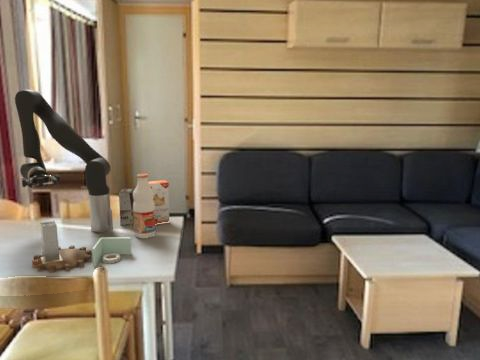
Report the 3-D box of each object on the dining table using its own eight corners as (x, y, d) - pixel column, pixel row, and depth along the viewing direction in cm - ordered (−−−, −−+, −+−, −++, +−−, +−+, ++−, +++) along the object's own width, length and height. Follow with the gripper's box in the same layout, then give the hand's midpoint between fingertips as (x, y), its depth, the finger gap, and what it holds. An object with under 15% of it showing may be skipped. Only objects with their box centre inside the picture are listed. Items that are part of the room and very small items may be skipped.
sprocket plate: (85, 246, 187) (85, 242, 187) (98, 264, 169) (97, 259, 169) (29, 256, 176) (28, 251, 176) (36, 277, 158) (35, 271, 158)
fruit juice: (139, 230, 207) (137, 171, 200) (159, 232, 205) (156, 172, 198) (130, 237, 198) (127, 176, 191) (150, 239, 196) (148, 177, 189)
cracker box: (142, 228, 211) (140, 185, 206) (138, 224, 216) (136, 182, 211) (170, 223, 217) (168, 181, 213) (165, 220, 222) (164, 179, 218)
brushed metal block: (57, 255, 174) (54, 221, 171) (59, 259, 170) (56, 224, 166) (43, 257, 171) (40, 223, 168) (45, 262, 167) (42, 226, 164)
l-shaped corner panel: (93, 267, 168) (92, 248, 167) (101, 255, 180) (100, 237, 178) (125, 267, 169) (124, 248, 167) (131, 254, 181) (130, 237, 179)
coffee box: (133, 224, 215) (132, 192, 211) (120, 225, 214) (118, 192, 211) (136, 219, 224) (134, 188, 220) (123, 219, 223) (121, 188, 220)
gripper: (18, 170, 185) (22, 176, 171) (54, 165, 192) (61, 172, 178) (20, 187, 187) (24, 195, 173) (56, 182, 194) (63, 190, 180)
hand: (43, 183), depth 176 cm, fingers open, 8 cm apart
